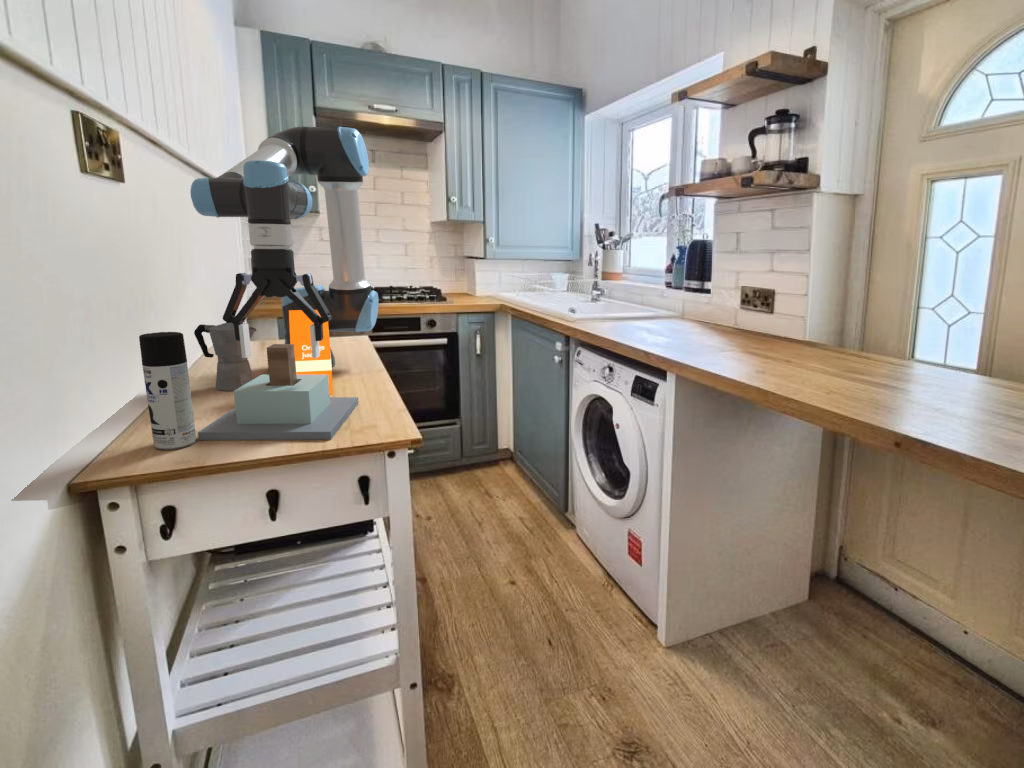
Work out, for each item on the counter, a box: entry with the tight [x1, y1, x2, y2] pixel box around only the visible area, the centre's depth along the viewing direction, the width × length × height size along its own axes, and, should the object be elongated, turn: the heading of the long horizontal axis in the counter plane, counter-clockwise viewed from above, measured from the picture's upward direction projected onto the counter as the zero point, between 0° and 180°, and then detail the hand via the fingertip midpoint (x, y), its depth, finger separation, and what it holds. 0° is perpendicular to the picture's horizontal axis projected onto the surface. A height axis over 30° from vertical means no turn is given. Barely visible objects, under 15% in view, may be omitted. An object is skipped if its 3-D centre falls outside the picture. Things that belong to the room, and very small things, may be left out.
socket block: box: [197, 373, 360, 441], centre depth 114 cm, size 24×24×8 cm
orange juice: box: [289, 310, 334, 395], centre depth 135 cm, size 8×9×20 cm
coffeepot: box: [193, 321, 257, 392], centre depth 139 cm, size 15×9×18 cm, turn 88°
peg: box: [266, 343, 297, 386], centre depth 113 cm, size 4×4×14 cm
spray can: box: [138, 331, 197, 451], centre depth 99 cm, size 7×7×20 cm
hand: (281, 357), depth 112 cm, fingers open, 13 cm apart
